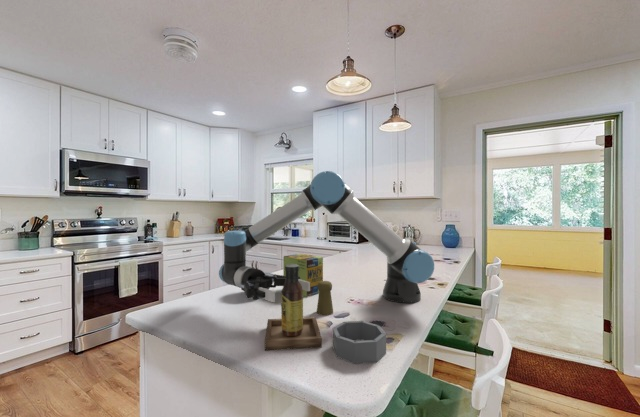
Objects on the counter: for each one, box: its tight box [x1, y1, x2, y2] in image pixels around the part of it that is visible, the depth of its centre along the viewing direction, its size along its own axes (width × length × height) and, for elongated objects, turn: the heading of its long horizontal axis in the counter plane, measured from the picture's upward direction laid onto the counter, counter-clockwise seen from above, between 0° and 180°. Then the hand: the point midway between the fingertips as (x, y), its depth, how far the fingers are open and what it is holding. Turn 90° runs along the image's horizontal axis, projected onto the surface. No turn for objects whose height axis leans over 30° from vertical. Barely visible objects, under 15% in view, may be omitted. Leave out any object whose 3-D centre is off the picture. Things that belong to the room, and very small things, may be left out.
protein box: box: [282, 253, 324, 298], centre depth 129 cm, size 10×15×16 cm
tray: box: [264, 316, 323, 352], centre depth 84 cm, size 15×15×2 cm
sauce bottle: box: [280, 264, 304, 336], centre depth 84 cm, size 7×6×20 cm
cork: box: [316, 280, 334, 316], centre depth 103 cm, size 6×6×11 cm
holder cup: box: [332, 320, 387, 365], centre depth 76 cm, size 13×13×5 cm
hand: (292, 291), depth 84 cm, fingers open, 13 cm apart
